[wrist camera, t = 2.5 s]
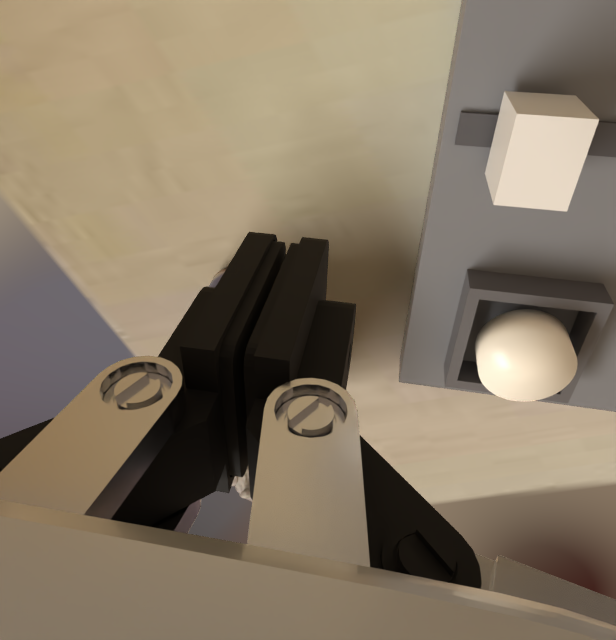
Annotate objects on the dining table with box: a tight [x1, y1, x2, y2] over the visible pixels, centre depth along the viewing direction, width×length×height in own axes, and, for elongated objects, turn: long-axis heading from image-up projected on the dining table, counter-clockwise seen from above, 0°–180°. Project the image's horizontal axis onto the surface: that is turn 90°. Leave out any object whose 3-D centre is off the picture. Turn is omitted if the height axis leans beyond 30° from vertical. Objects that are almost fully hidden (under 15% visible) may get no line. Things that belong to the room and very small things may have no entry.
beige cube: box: [485, 91, 599, 212], centre depth 18 cm, size 3×2×3 cm
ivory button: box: [475, 309, 578, 401], centre depth 23 cm, size 4×4×2 cm
